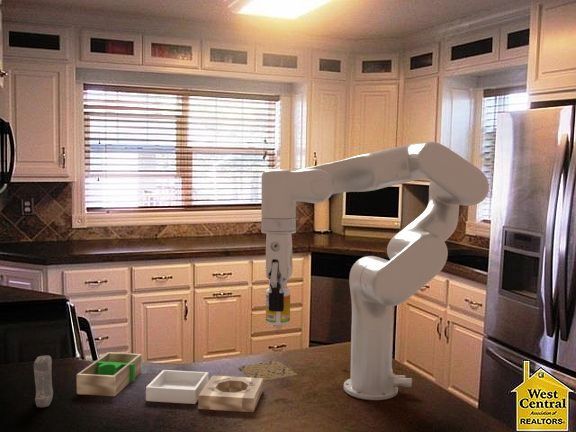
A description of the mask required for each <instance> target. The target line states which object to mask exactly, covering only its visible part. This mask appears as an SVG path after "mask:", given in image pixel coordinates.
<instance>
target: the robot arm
mask: <svg viewBox="0 0 576 432" xmlns="http://www.w3.org/2000/svg"><path fill="white" fill-rule="evenodd" d="M418 180H419V181H420V180H421V181H424V180H429V181H430V182H429V187H428V203H427V206H426V208H425V210H424V211H423V212H422V213H421V214H420V215H419V216H417V217H416V218H415V219H414V220H413V221H411V222H410V223H409V224H408V225H407V226H405V227H404V228H403V229H401V230H400V231H399V232H398V233H396V234H395V235H394V236H393V237H392V238H391V239H390V240H389V242H388V244H387V246H386V247H387V248H386V251H387V256H388V258H389V260H388V259H385V258H382V257H379V256H374V255H367V256H366V255H365V256H363V257H361V258H359V259H357V260H356V261H355V263H353V265H352V266H351V269H350V271H349V281H348V282H349V289H350V290H349V291H350V299H351V300H350V301H351V329H350V330H351V334H350V335H351V337H350V339H351V340H350V378H348V379H345V381H344V383H343V390H344V392H345V393H346V394H348V395H349V396H352V397H354V398H357V399H360V400H361V399H362V400H367V401H383V400H389V399H392V398H394V397H396V396H397V395H398V393H399V387H400V386H401V387H407V388H412V385H413V378H411V377H410V378H409V377H406V375H401V374H400V375H399V374H396V373H394V371H393V367H392V366H393V365H392V364H393V332H394V331H393V330H394V328H393V327H394V311H393V310H394V309H393V307H394V306H395V307H396V306H398V305H401V304H403V303H404V302H406V301H407V300H409V299H411V297H413V296H414V295H415V294H416V293H417V292H419V291H420V290H421V289H422V288H423V287H425V286H426V285H427V284H428V283H429V282H430V281H432V280H433V279H435V277H437V275H438V274H439V273H440V272H441V271H442V270H443V269H444V267H445V265H446V263H447V260H448V255H449V253H448V247H447V243H446V241H447V240H448V239H449V238H450V237H451V236H452V235H453V234H454V232H455V231H456V229H457V227H458V223H459V213H460V206H466V207H467V206H468V207H471V206H476V205H479V204H481V202H483V201H484V200H485V199H486V198H487V196H488V194H489V190H490V183H489V180H488V178H487V176H486V174H485V173H484V172H483V171H482V170H481V169H480V168H479V167H477V166H475V165H474V164H473V163H471V162H470V161H468V160H466V158H463V156H461V155H459V154H458V153H456V152H455V151H453V150H452V149H451V148H449V147H447V146H446V145H443V144H441V143H440V142H437V141H425V142H415V143H409V144H405V145H400V146H396V147H391V148H386V149H381V150H378V151H377V150H376V151H374V152H368V153H365V154H359V155H356V156H352V157H349V158H344V159H342V160H341V159H340V160H337V161H333V162H329V163H328V162H327V163H323V164H319V165H318V164H317V165H315V166H310V167H306V168H305V167H304V168H300V169H297V170H291V169H284V168H281V169H275V168H274V169H266V170H264V171H263V172H262V174H261V207H260V208H261V210H260V211H261V218H260V219H261V222H260V223H261V226H260V227H261V233H262V234H265V235H266V237H265V277H266V278H267V280H269V279H270V285H269V284H268V286H269V287H268V289H269V311H278V312H282V311H283V310H284V293H282V291H283V278H285V279H286V280H287V281H288V280H289V279H290V278H291V276H292V274H293V271H294V269H293V266H294V265H293V237H292V234H296V232H297V231H296V229H297V227H296V225H297V224H296V223H297V221H296V220H297V219H296V214H297V213H296V212H297V202H301V203H302V202H303V203H309V204H310V203H311V204H320V203H323V202H325V201H327V200H328V199H329V198H331V196H332V195H336V194H341V193H350V192H351V193H352V192H353V193H355V192H357V193H359V192H361V193H362V192H371V191H377V190H380V189H384V188H388V187H391V186H392V187H393V186H397V185H401V184H405V183H410V182H414V181H418ZM279 282H280V284H279ZM286 288H287V289H288V286H286Z"/></svg>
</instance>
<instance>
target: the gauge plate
mask: <svg viewBox="0 0 576 432" xmlns="http://www.w3.org/2000/svg"><path fill="white" fill-rule="evenodd" d="M263 391H264V381H263V378H250V377H248V376H246V377H245V376H232V375H231V376H229V375H212V376H211V377H210V378H209V381H208V383H207V384H206V385H205V387H204V388H203V390H202V391H201V392H200V394H199V395H198V401H197V403H198V405H197V406H198V407H197V408H198V409H199V410H212V411H226V412H227V411H228V412H242V413H243V412H244V413H254V412H255V410H256V408H257V405H258V403H259V401H260V398H261V396H262V394H263ZM198 409H197V410H198Z"/></svg>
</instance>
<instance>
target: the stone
mask: <svg viewBox="0 0 576 432" xmlns="http://www.w3.org/2000/svg"><path fill="white" fill-rule="evenodd" d="M52 363H53V361H52V357H51V356H50V355H49V354H48V355H46V354H45V355H40V356H37V357H36V359H35V360H34V363H33V374H34V383H35V398H34V401H35V405H36V407H37V408H46V407H49V406H50V405H51V402H52V401H53V395H54V389H53V378H52Z"/></svg>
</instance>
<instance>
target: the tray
mask: <svg viewBox="0 0 576 432" xmlns="http://www.w3.org/2000/svg"><path fill="white" fill-rule="evenodd" d="M209 380H210V378H209V372H207V371H205V372H204V371H189V370H172V369H170V370H169V369H163V370H161V372H159V373H158V374H157V375H156V376H155V377H154V378H153V379H152V380H151V382H150V383H149V384H147V385H146V387H145V401H146V402H159V403H173V404H192V405H196V403H198V395H199V394H200V392H201V391H202V390H203V388H204V387H205V385H206V384H207V383H208V381H209Z"/></svg>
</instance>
